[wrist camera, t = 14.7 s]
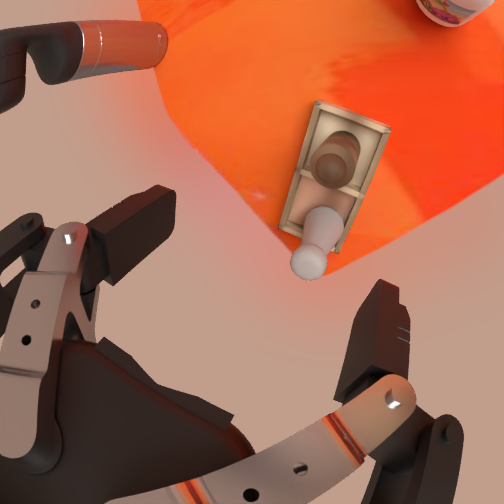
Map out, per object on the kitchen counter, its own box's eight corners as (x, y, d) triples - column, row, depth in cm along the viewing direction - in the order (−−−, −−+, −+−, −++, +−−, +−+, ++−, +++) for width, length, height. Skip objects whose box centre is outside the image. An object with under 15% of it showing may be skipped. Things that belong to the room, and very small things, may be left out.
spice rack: (284, 219, 47) (277, 228, 44) (320, 99, 34) (315, 100, 32) (341, 243, 45) (338, 254, 42) (389, 126, 32) (390, 130, 30)
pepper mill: (321, 156, 38) (299, 185, 28) (331, 125, 35) (312, 142, 25) (353, 169, 37) (343, 203, 28) (365, 138, 34) (359, 160, 24)
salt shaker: (307, 232, 45) (281, 283, 35) (308, 198, 42) (280, 242, 32) (344, 238, 43) (328, 292, 33) (347, 203, 39) (333, 251, 30)
